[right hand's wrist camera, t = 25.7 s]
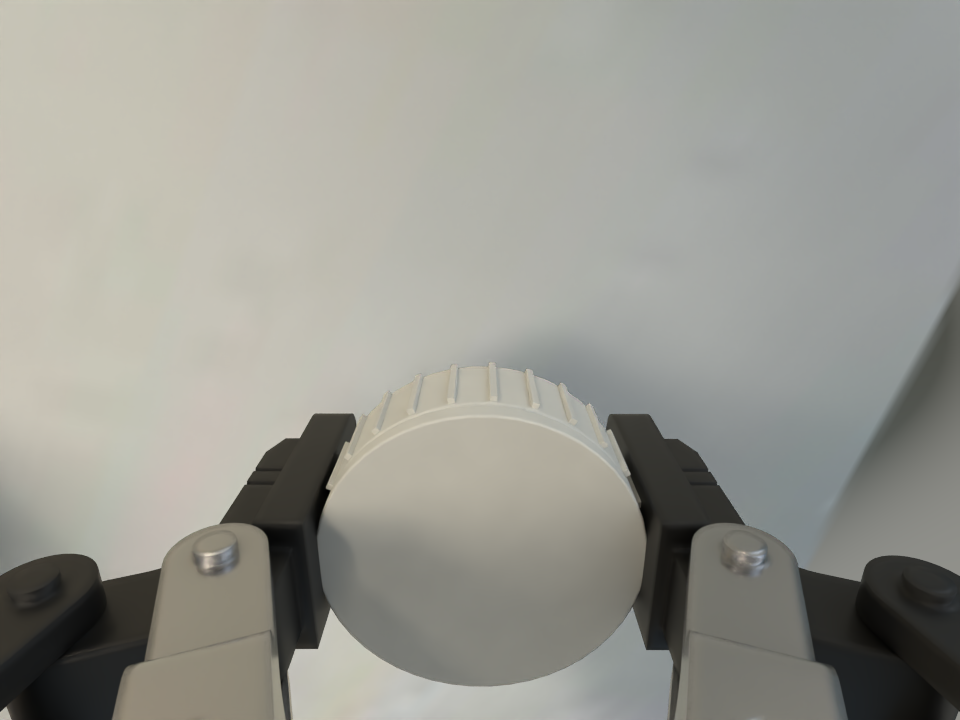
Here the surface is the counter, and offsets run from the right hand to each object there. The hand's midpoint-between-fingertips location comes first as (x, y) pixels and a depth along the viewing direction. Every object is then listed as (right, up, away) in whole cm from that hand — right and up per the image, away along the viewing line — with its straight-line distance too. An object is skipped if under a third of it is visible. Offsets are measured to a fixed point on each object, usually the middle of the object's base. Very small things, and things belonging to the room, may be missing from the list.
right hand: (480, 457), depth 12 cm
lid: (0, -1, -3) cm, 3 cm away
